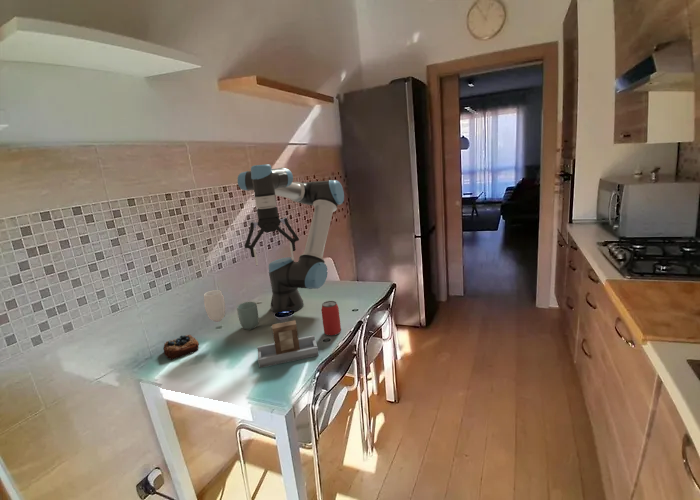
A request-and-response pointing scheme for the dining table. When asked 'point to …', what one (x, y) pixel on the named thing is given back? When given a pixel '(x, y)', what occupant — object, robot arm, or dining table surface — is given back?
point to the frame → (285, 337)
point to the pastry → (180, 347)
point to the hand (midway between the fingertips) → (275, 262)
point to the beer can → (331, 318)
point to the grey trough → (269, 352)
